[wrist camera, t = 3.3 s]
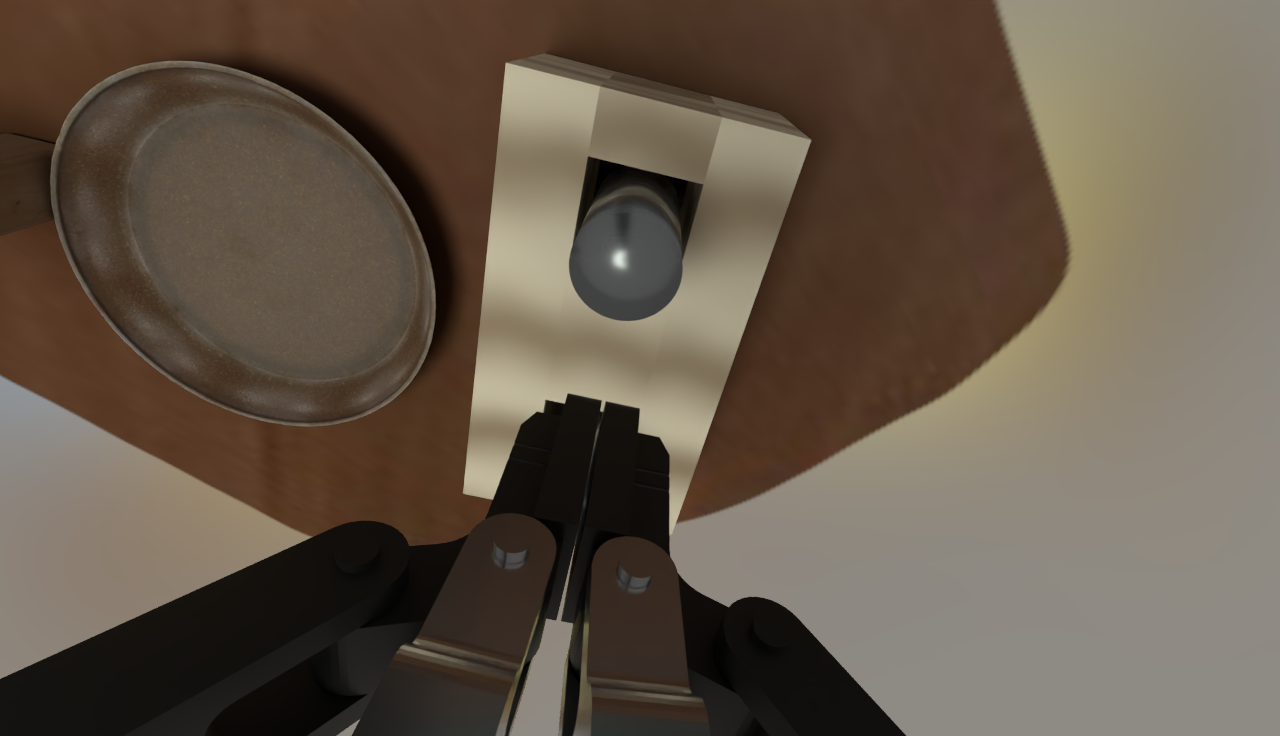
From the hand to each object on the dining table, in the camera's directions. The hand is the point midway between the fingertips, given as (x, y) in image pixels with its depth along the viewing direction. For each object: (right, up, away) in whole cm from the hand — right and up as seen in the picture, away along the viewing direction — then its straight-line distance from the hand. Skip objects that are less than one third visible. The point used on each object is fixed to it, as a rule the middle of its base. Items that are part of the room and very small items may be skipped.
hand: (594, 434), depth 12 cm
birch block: (0, +6, +23) cm, 23 cm away
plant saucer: (-20, +8, +23) cm, 32 cm away
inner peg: (+1, +9, +15) cm, 17 cm away
